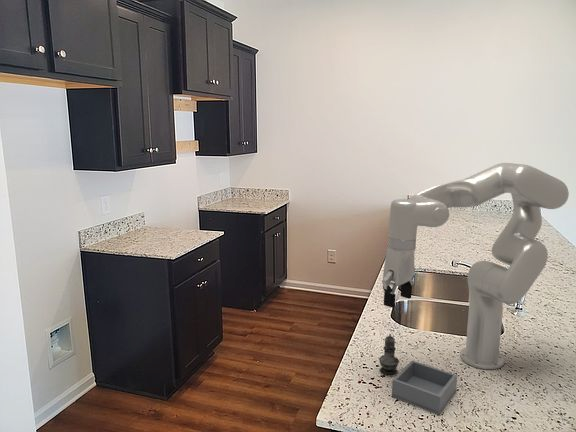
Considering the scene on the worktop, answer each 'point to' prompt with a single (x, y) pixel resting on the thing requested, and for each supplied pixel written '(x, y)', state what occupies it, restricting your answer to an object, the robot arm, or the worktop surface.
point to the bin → (424, 386)
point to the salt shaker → (389, 358)
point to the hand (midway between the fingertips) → (397, 301)
